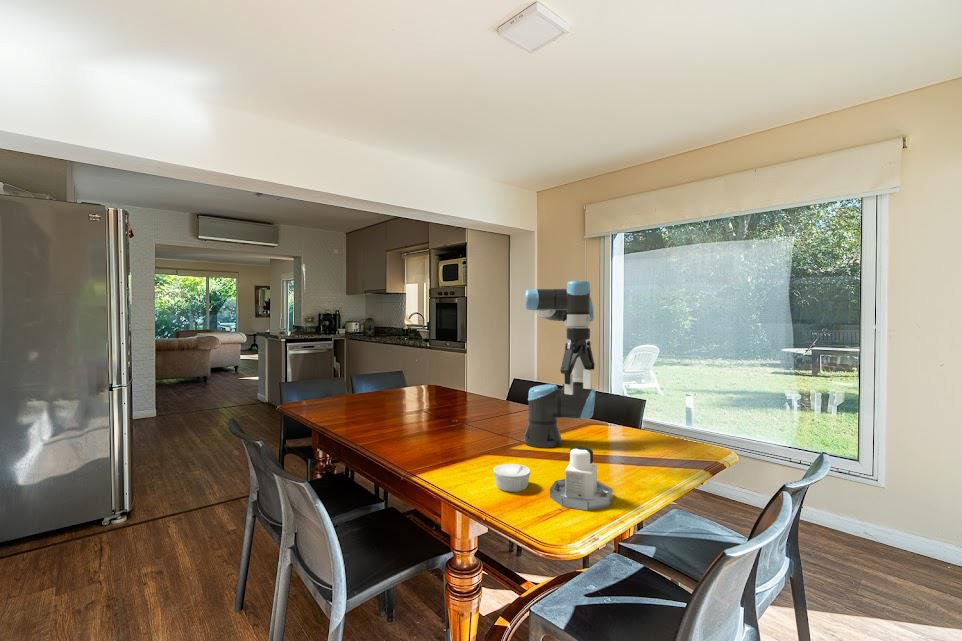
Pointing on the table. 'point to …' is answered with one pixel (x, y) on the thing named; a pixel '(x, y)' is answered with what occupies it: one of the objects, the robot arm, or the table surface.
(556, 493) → the grey octagonal shallow tray
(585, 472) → the container
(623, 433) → the table surface
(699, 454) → the table surface
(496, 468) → the ramekin
